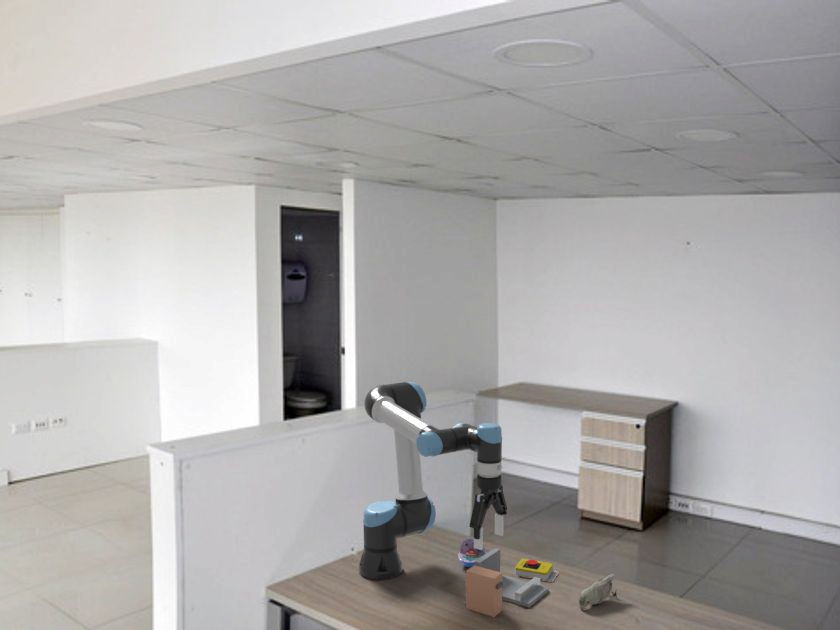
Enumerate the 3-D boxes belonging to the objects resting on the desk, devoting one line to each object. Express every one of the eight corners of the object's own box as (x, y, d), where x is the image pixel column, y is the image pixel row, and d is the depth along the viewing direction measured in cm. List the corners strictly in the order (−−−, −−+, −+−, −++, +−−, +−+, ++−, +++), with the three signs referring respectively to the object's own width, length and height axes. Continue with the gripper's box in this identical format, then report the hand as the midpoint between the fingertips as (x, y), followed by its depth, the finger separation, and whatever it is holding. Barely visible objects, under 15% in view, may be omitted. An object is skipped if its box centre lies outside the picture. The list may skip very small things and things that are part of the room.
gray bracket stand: (473, 591, 240) (474, 561, 239) (494, 576, 251) (495, 547, 250) (529, 607, 228) (529, 576, 227) (548, 591, 239) (548, 561, 239)
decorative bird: (573, 607, 228) (574, 584, 228) (606, 593, 238) (606, 571, 238) (587, 614, 224) (588, 590, 223) (619, 599, 234) (620, 576, 233)
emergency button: (518, 553, 261) (559, 560, 254) (517, 565, 261) (559, 573, 255) (510, 563, 252) (553, 571, 246) (510, 576, 252) (552, 583, 246)
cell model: (454, 571, 255) (454, 544, 255) (462, 557, 267) (462, 532, 266) (482, 574, 253) (482, 547, 252) (489, 561, 264) (489, 535, 263)
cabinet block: (465, 608, 228) (466, 570, 227) (474, 602, 232) (474, 565, 231) (496, 617, 222) (496, 579, 221) (504, 611, 226) (504, 573, 225)
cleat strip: (514, 599, 231) (514, 592, 231) (534, 583, 242) (534, 576, 242) (520, 601, 230) (520, 593, 230) (540, 585, 241) (540, 578, 241)
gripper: (480, 486, 213) (480, 557, 214) (518, 466, 234) (517, 531, 235) (458, 482, 217) (457, 552, 219) (497, 463, 238) (496, 527, 239)
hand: (488, 541), depth 227 cm, fingers open, 13 cm apart
